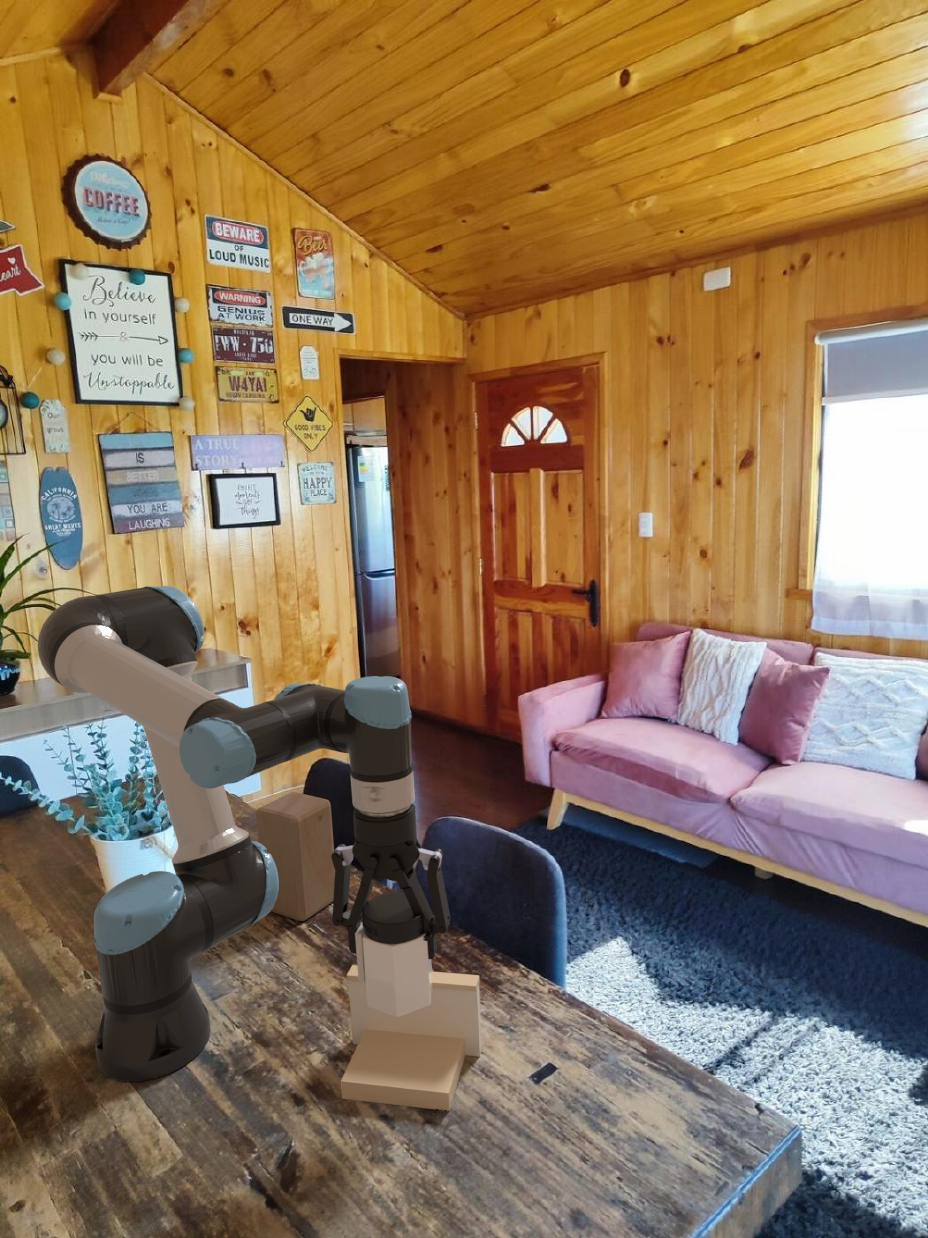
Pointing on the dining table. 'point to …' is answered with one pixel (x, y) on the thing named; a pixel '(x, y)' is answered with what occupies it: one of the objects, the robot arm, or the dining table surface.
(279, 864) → the wooden block
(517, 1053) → the dining table surface
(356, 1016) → the cleat board
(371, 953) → the jar
